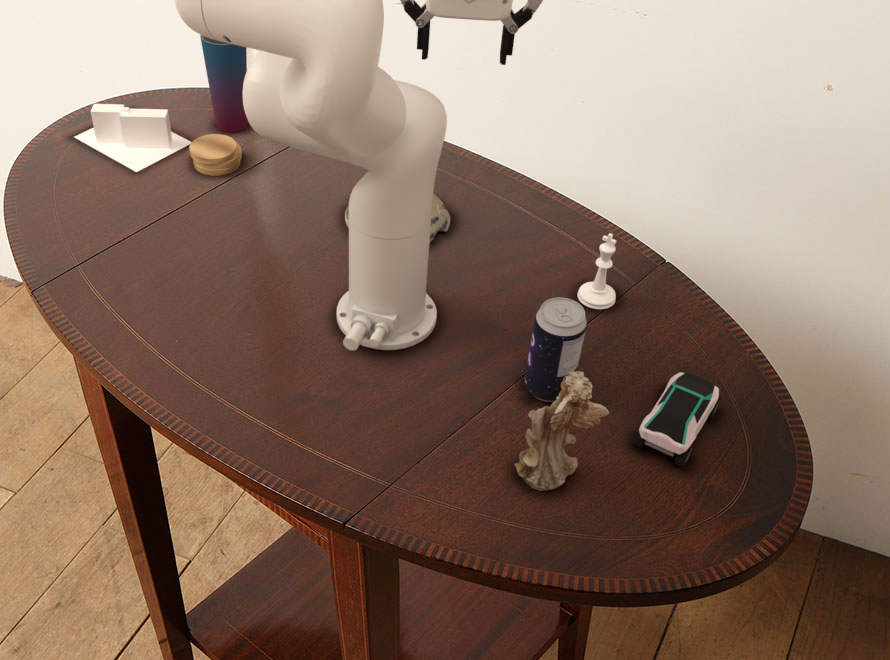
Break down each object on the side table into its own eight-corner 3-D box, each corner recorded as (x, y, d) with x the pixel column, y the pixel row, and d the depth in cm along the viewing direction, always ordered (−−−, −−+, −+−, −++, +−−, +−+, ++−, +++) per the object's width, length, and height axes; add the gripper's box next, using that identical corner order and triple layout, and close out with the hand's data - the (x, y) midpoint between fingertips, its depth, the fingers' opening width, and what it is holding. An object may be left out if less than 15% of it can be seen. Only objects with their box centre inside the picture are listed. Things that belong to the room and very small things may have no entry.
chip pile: (228, 181, 145) (226, 163, 143) (183, 170, 147) (180, 152, 145) (250, 155, 150) (248, 138, 148) (206, 145, 152) (204, 128, 150)
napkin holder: (193, 142, 153) (189, 108, 149) (137, 172, 146) (131, 138, 142) (129, 109, 159) (123, 76, 155) (72, 137, 153) (65, 104, 149)
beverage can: (563, 370, 118) (579, 292, 110) (577, 403, 114) (596, 326, 106) (517, 375, 118) (530, 297, 109) (530, 409, 114) (545, 331, 105)
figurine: (566, 448, 109) (590, 349, 99) (589, 489, 105) (616, 390, 95) (504, 461, 108) (521, 362, 97) (525, 503, 104) (545, 404, 93)
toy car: (629, 451, 109) (639, 418, 106) (669, 388, 117) (680, 355, 113) (679, 474, 107) (691, 441, 103) (717, 408, 114) (730, 375, 111)
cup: (234, 140, 154) (226, 48, 143) (201, 127, 156) (190, 36, 146) (262, 121, 158) (255, 31, 147) (228, 109, 160) (220, 19, 150)
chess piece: (604, 314, 126) (619, 251, 119) (570, 299, 128) (583, 236, 121) (622, 295, 129) (637, 232, 122) (588, 280, 131) (602, 218, 124)
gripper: (397, -81, 108) (391, 66, 120) (555, -71, 107) (534, 76, 119) (402, -104, 113) (396, 39, 125) (553, -95, 112) (533, 48, 124)
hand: (463, 57), depth 122 cm, fingers open, 9 cm apart
